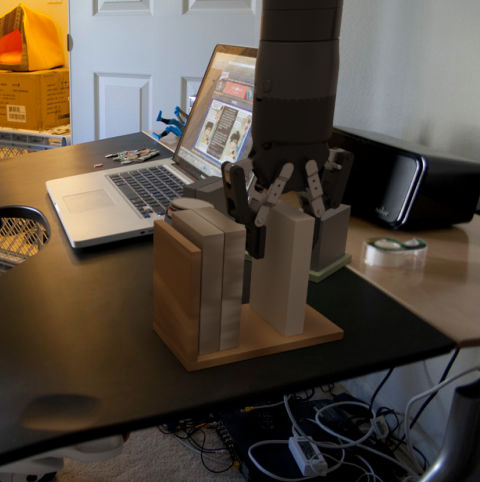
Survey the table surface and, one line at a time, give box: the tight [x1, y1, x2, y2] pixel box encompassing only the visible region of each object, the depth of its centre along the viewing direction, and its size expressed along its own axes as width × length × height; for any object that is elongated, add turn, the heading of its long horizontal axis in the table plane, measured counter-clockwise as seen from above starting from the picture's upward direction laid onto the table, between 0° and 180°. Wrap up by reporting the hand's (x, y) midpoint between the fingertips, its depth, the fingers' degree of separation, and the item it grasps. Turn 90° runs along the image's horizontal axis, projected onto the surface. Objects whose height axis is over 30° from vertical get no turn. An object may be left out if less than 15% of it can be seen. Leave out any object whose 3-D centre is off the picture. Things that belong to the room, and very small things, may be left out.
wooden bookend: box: [152, 206, 345, 373], centre depth 67 cm, size 18×9×14 cm, turn 107°
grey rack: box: [182, 175, 353, 284], centre depth 89 cm, size 23×9×8 cm, turn 43°
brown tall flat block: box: [248, 199, 315, 337], centre depth 67 cm, size 2×7×13 cm, turn 17°
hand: (280, 251), depth 67 cm, fingers open, 5 cm apart
